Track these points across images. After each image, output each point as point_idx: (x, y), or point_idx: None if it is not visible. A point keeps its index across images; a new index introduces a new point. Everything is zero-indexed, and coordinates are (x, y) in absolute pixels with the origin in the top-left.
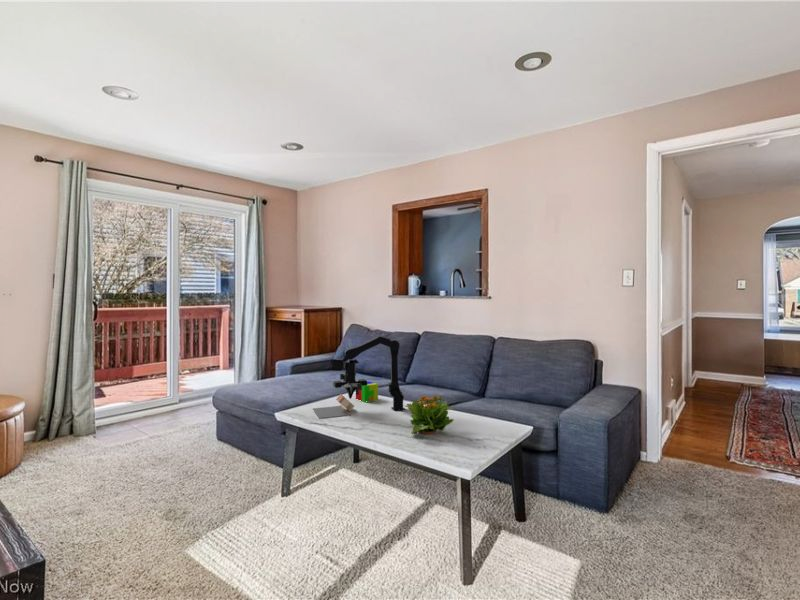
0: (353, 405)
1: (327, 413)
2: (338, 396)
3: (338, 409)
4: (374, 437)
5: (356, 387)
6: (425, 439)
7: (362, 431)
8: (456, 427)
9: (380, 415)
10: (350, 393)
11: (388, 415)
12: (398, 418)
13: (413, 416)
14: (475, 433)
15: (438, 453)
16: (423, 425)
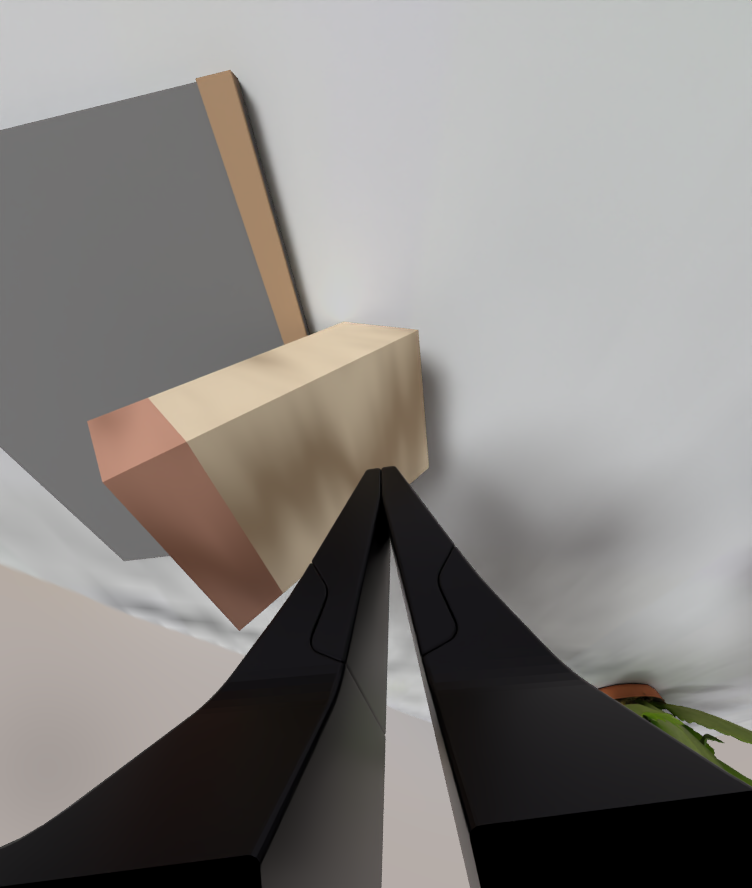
0: (413, 476)
1: None
2: (96, 451)
3: (225, 356)
4: (420, 705)
5: (596, 867)
6: None
7: (392, 680)
8: (745, 685)
9: (578, 556)
10: (384, 626)
11: (628, 563)
12: (638, 606)
13: (655, 711)
14: (733, 709)
15: None
16: (636, 697)
